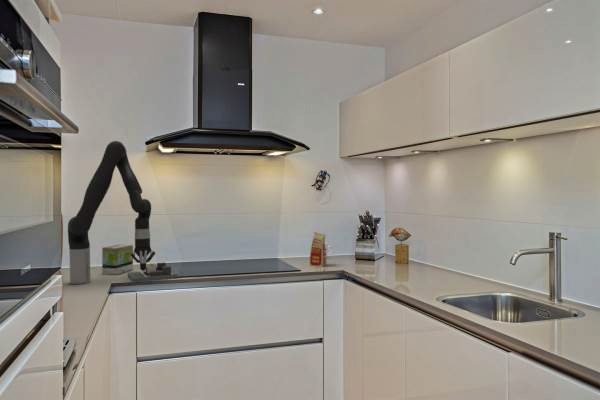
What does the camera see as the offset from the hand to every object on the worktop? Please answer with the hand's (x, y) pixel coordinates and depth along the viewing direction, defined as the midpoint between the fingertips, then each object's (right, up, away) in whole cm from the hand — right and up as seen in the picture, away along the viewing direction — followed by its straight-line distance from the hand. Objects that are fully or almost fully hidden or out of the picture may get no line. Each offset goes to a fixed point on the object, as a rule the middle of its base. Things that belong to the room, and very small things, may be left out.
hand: (143, 270), depth 236 cm
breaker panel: (+4, -4, +2) cm, 6 cm away
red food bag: (+93, -3, +33) cm, 99 cm away
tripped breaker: (+4, -2, +2) cm, 5 cm away
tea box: (-20, -4, +18) cm, 28 cm away
